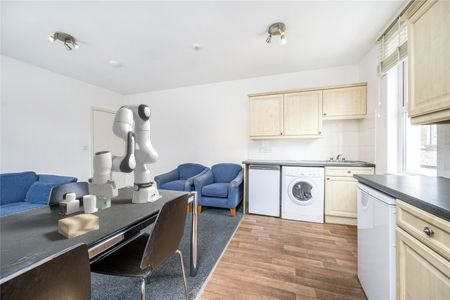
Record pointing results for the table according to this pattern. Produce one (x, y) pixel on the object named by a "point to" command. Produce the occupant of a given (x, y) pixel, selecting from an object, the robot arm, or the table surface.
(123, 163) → the robot arm
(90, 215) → the beech block
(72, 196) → the medicine bottle
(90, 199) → the white cup
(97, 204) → the sage cube
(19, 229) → the table surface
